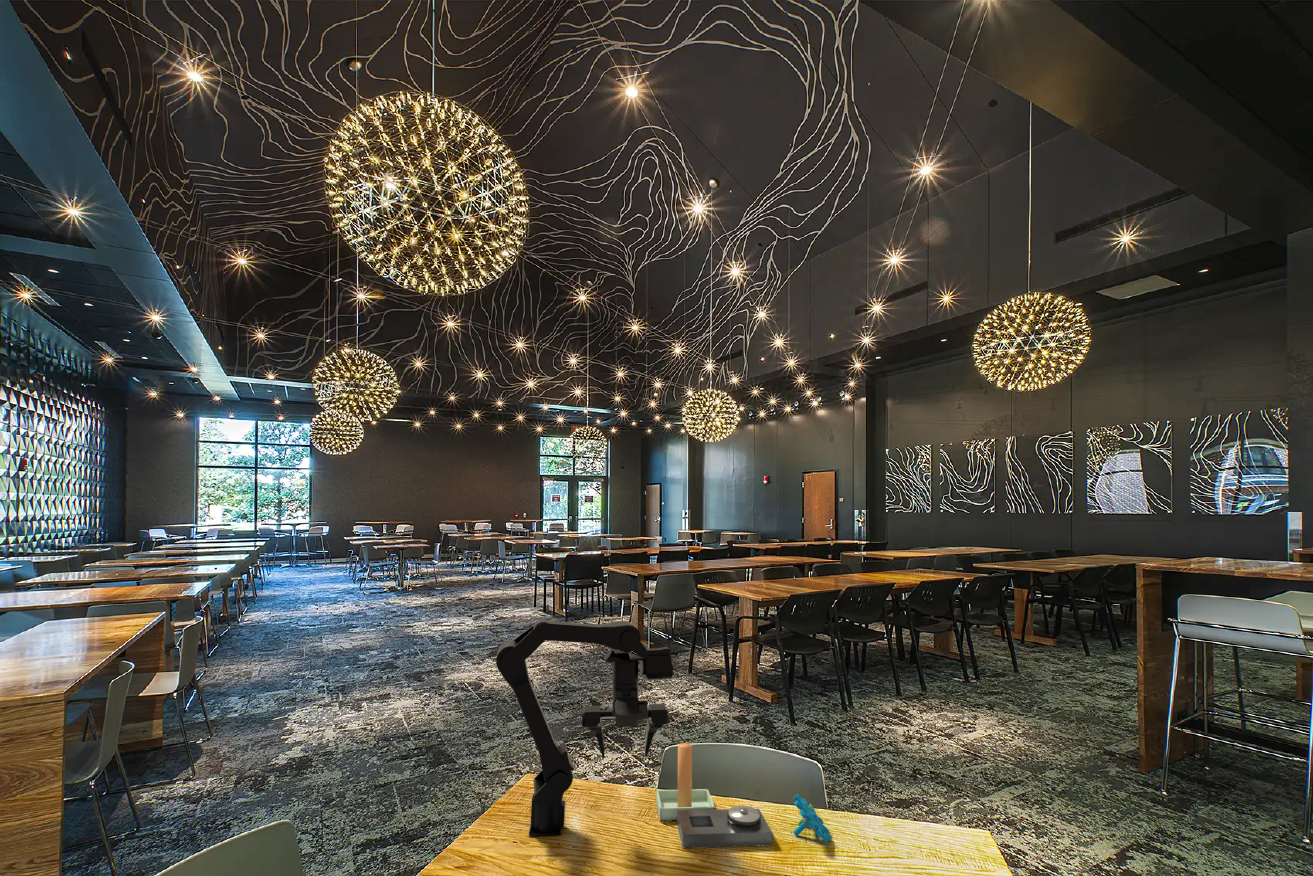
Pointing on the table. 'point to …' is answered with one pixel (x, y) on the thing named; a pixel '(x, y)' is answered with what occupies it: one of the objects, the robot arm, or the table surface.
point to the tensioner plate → (723, 827)
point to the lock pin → (684, 775)
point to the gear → (810, 819)
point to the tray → (670, 799)
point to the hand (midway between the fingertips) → (624, 756)
